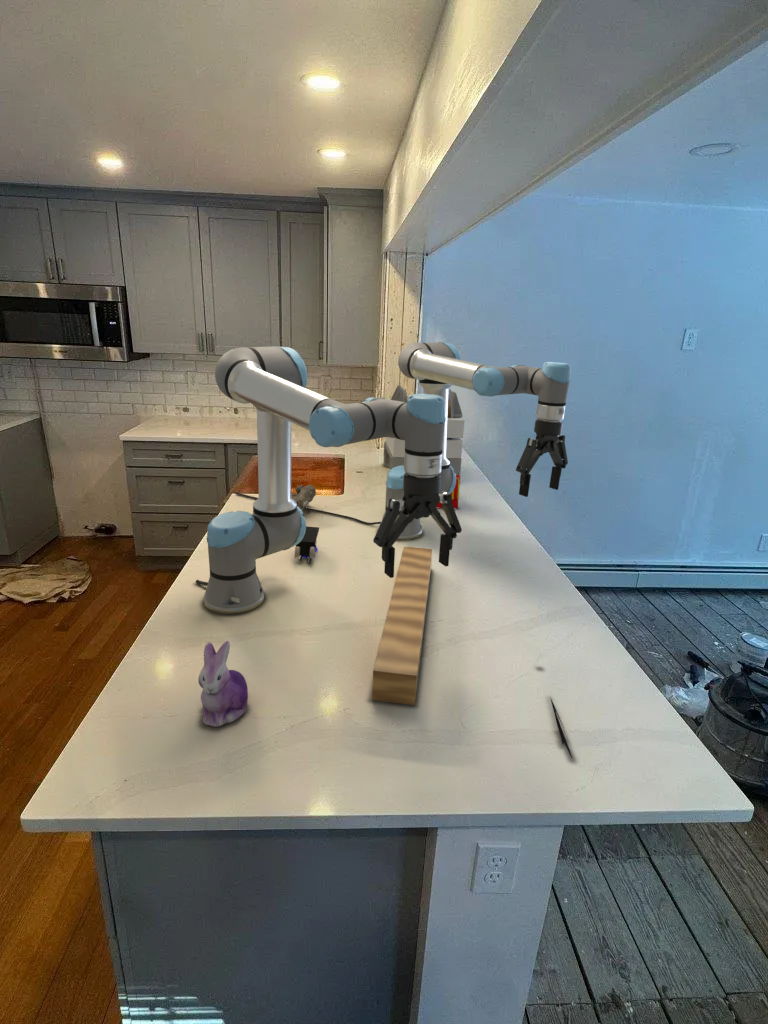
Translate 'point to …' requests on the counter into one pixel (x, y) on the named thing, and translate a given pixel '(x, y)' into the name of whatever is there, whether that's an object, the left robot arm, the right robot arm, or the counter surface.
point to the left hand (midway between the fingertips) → (416, 569)
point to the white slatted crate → (455, 429)
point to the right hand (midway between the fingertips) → (538, 492)
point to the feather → (560, 728)
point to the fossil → (304, 496)
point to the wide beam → (403, 630)
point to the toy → (453, 494)
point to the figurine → (221, 688)
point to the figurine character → (307, 544)
